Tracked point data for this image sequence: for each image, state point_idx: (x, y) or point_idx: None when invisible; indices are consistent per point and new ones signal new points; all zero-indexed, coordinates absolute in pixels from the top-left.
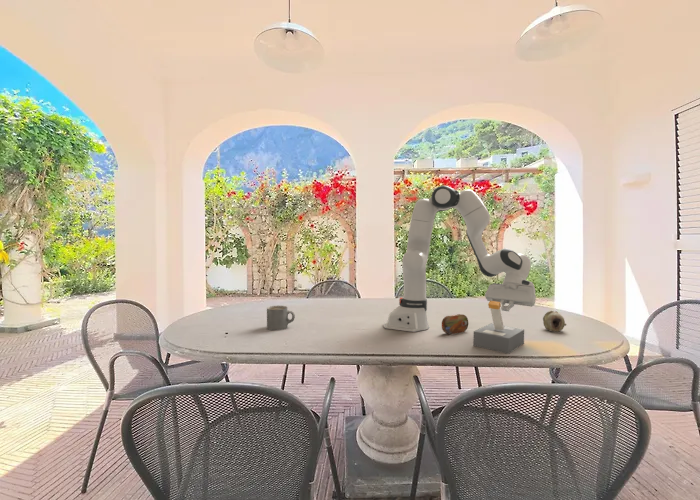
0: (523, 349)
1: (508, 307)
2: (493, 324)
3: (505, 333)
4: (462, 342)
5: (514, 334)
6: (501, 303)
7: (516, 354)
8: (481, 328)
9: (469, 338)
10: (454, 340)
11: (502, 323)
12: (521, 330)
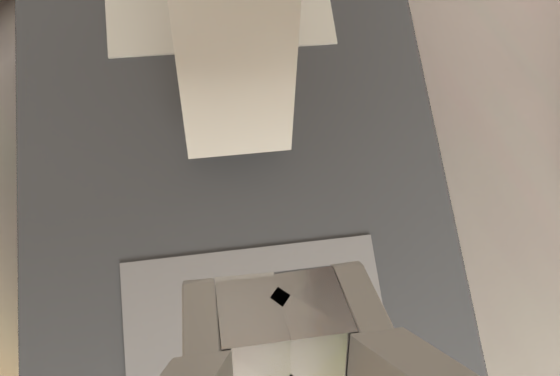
0: (10, 226)
1: (184, 317)
2: None
3: (121, 71)
4: (453, 14)
5: (25, 107)
6: (452, 365)
7: (9, 52)
8: (407, 65)
9: (494, 154)
10: (523, 14)
11: (178, 80)
12: (27, 368)
